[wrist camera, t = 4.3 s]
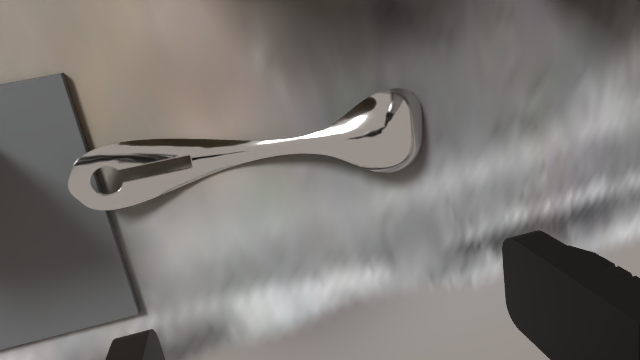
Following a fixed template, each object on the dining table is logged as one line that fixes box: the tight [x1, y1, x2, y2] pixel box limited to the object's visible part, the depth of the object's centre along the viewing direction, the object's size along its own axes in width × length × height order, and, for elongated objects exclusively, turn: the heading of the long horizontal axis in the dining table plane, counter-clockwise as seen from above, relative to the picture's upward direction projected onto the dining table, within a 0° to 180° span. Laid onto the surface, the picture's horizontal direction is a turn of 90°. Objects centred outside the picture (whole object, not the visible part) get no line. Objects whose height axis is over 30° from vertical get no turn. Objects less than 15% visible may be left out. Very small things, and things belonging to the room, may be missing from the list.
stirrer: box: [68, 88, 423, 210], centre depth 27 cm, size 20×4×5 cm
